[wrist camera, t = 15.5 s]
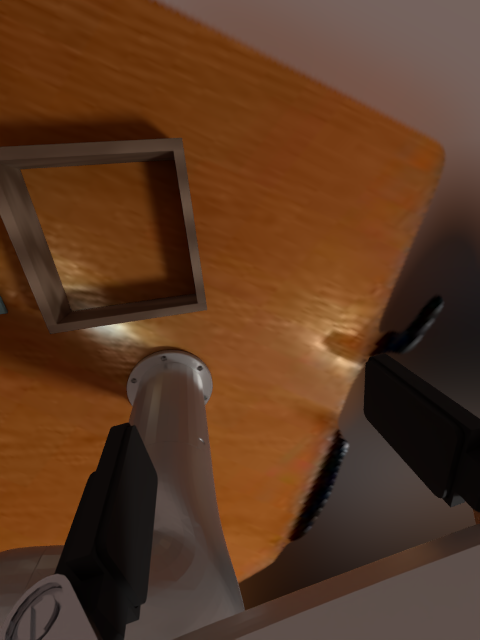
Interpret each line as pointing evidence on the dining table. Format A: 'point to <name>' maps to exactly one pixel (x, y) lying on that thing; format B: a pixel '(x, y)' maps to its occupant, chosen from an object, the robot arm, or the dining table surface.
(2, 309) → the light blue square plate
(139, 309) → the grey square frame
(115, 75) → the dining table surface
